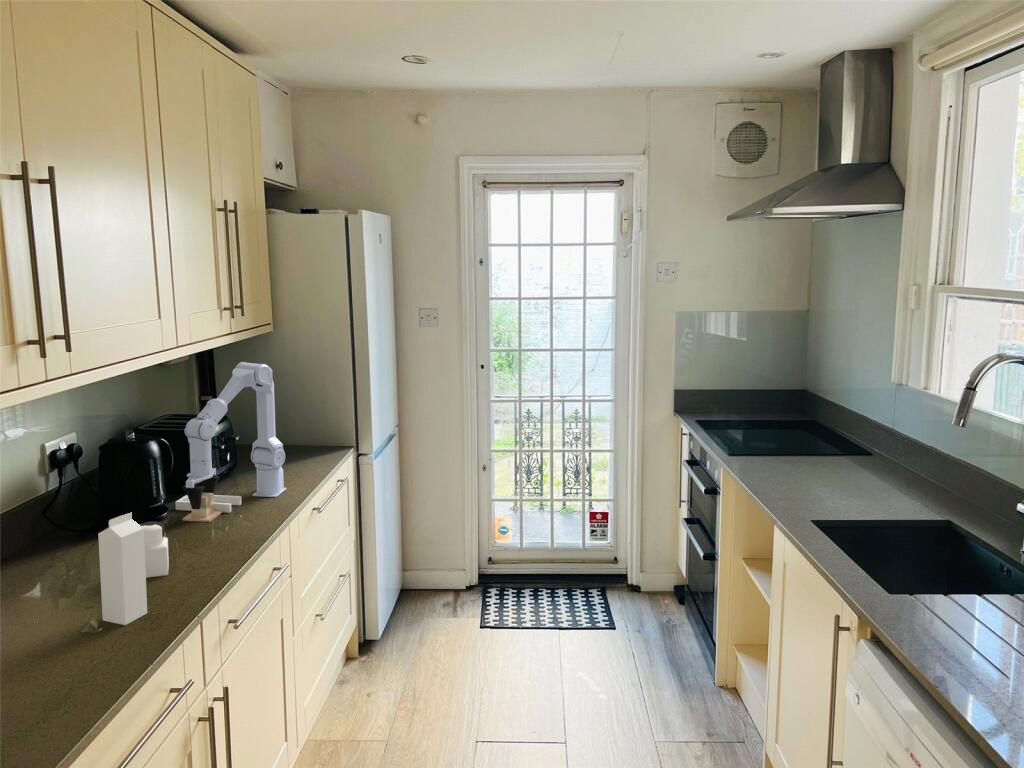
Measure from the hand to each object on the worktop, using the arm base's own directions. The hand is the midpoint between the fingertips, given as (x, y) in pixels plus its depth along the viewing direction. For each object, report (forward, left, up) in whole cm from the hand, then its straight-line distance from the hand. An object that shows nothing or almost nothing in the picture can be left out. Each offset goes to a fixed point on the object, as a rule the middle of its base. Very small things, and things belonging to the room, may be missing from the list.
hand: (202, 504), depth 219 cm
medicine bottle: (+40, +7, -4) cm, 41 cm away
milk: (+63, +14, -4) cm, 65 cm away
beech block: (0, 0, -3) cm, 3 cm away
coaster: (0, 0, -4) cm, 4 cm away
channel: (-9, -2, -4) cm, 10 cm away
